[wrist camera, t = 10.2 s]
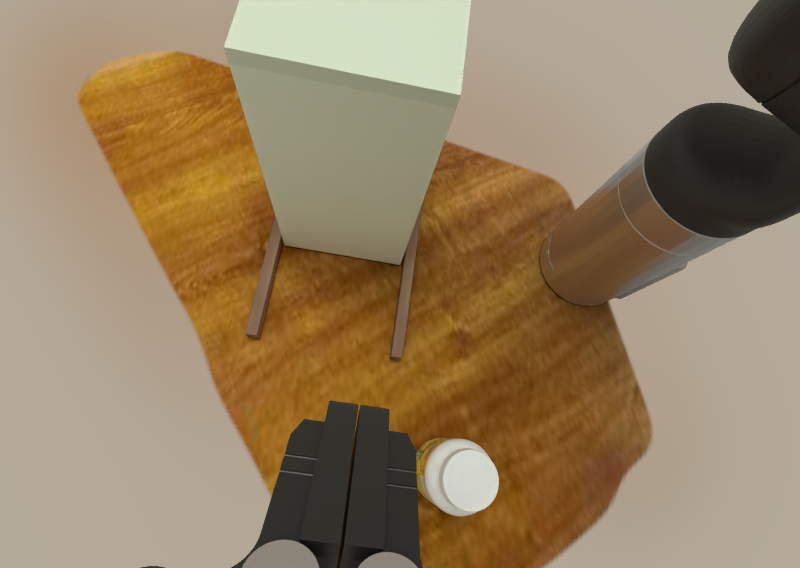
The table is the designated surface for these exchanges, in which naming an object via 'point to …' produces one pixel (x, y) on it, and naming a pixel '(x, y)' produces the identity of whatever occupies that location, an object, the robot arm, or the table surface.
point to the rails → (270, 270)
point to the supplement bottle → (456, 475)
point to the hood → (348, 112)
